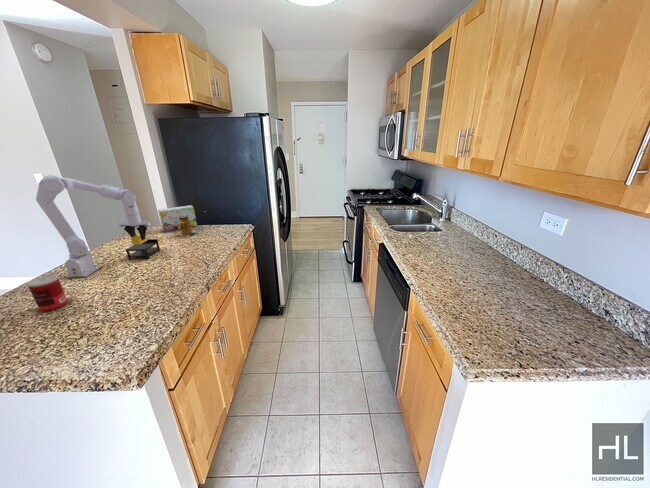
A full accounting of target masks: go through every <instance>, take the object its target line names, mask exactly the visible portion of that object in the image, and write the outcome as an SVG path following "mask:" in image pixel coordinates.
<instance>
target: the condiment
mask: <svg viewBox="0 0 650 488" xmlns="http://www.w3.org/2000/svg"><path fill="white" fill-rule="evenodd" d="M179 221H180V222H179V223H180V228H181V229H180V232H181V234H179V236H180V237H186V238H188V237H190V236H193V235H196V234H197V232H194V231H193V230H192V227H191V225H190V221H189V219H188V217H187V216H184V217H180V218H179Z"/></svg>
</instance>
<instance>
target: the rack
mask: <svg viewBox="0 0 650 488" xmlns="http://www.w3.org/2000/svg"><path fill="white" fill-rule="evenodd" d="M155 245H156V247H154V246H155ZM125 252H126V255H127V258H128V260H131V259H132V258H146V260H149V259H150V258H149V257H150V256H151V255H152V254H153V253H155V252H161V247H160V245H159V240H158V238H147V241H145V242H143V243H142V244H132V245H131V246H129V247H128V248H125ZM130 252H132V253H131V254H130Z"/></svg>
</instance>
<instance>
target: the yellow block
mask: <svg viewBox="0 0 650 488" xmlns="http://www.w3.org/2000/svg"><path fill="white" fill-rule="evenodd" d="M145 238H146V239H144V240H142V239H141V236H140V233H138V234H136V236H134V237H132V238H131V237H130V241H131V243H132V245H134V244H142V243H143V242H145V241H147V239H148V238H147V235H146V236H145Z"/></svg>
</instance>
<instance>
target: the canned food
mask: <svg viewBox="0 0 650 488" xmlns="http://www.w3.org/2000/svg"><path fill="white" fill-rule="evenodd" d="M27 288H28V289H29V291H30V293H31V295H32V298H33V300H34V301H35V303H36V306H37V308H38V310H40V312H51V311H55V310H58V309H60V308H62V307H64V306H65V305H66V304H67V303H68V298H67V295H66V293H65V291H64V288H63V286H62V284H61V282H60V279H59V277H58V276H57V275H55V274H47V275H43V276H39V277H36V278H34V279H32V280H30V281H28V282H27Z"/></svg>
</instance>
